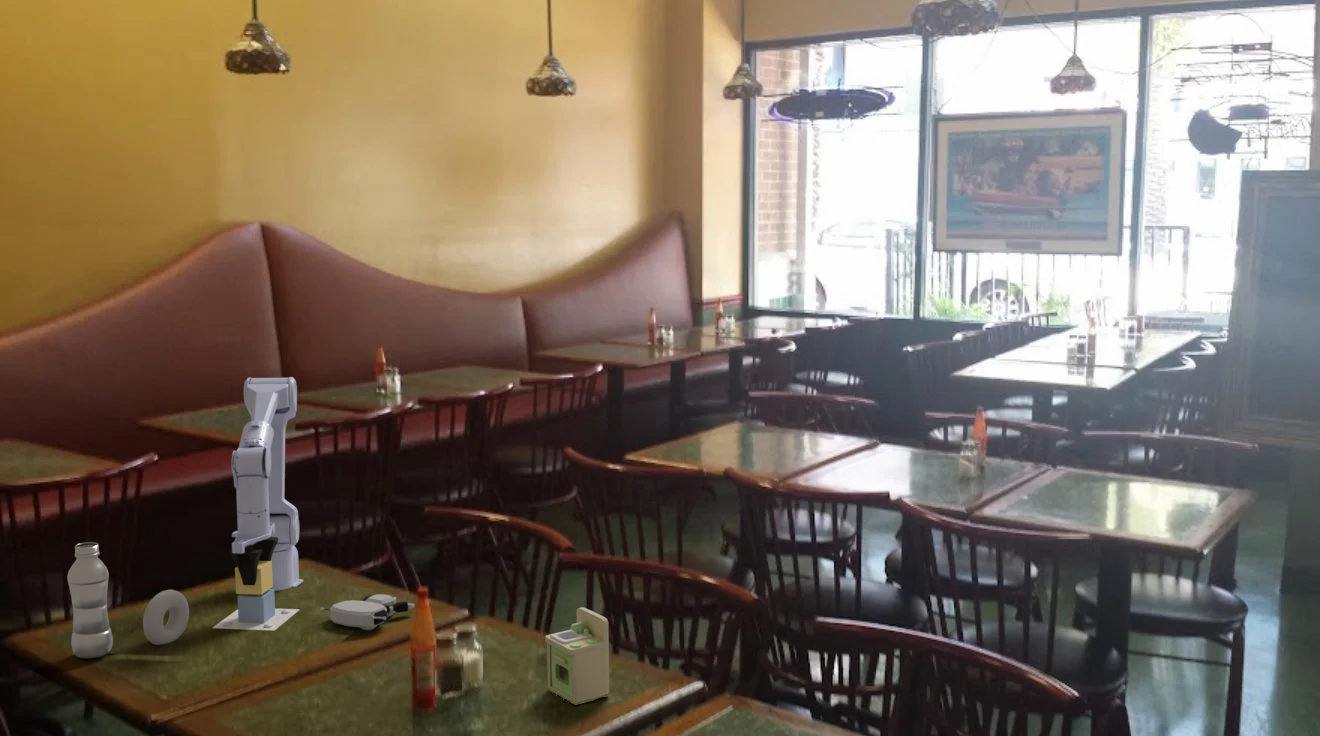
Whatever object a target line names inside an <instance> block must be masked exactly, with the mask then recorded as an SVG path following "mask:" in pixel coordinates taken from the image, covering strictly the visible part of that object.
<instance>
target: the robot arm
mask: <svg viewBox="0 0 1320 736" xmlns="http://www.w3.org/2000/svg"><path fill="white" fill-rule="evenodd" d="M243 401H244V405H245V407H246V409H247V412H248V413H249V415H250V421H249V422H247V423H246V424H244V426H243V428H242V433H241V438H240V441H239V444H238V448H237V450H233V451H232V454H231V473H232V476H233V487H234V488H235V489H236V515H237V530H235V531H233V532H232V533H231V537H232V538H235V539H234V541H233V542H232V543H231V548H230V549H229V555H230V557H231V558H232V559H233V561H234V562H235V565H236V567H238V569H239V572H240V576H241V579H242V582H243V585H255V583H256V578H257V567H258V562H259V561H272V578H273V587H271V588H270V589H274V592H276V591H277V592H278V591H284V590H287V589H289V588H290V589H291V587H297V588H298V586H299V585H300V584H302V583H303V582H304V579H301V578H300V573H299V572H300V571H299V569H300V568H299V552H298V549H297V548H296V545H297V543H298V542H299V539H300V520H299V519H300V518H299V511H298V508H297V507H296V506H295V505H293V504H292V503H290V502H289V501H288V500H287V499H285V490H286V489H285V487H286V485H285V484H286V483H285V482H286V481H285V479H286V473H285V472H286V430H287V425H288V421H289V420H291V419H294V418H295V417H296V413H297V411H298V409H297V408H298V406H297V405H298V404H297V402H298V386H297V381H296V379H295V378H294V377H293V376H289V377H247V379H246V380H245V381H244V382H243ZM271 514H272V515H271ZM273 514H277V515H273ZM278 514H286V515H278Z"/></svg>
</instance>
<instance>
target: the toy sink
mask: <svg viewBox="0 0 1320 736" xmlns="http://www.w3.org/2000/svg"><path fill="white" fill-rule="evenodd" d="M609 633H610V632H609V621H608V618H606V617H605V616H604V615H600V613H598V612H595V611H593V610H590V609H588V608H586V607H583V606H582V607H579V608H577V609H576V623H572V624H571V625H570V627H569V629H567V630H564V631H559V632H554V633H551V634H548V635H545V637H544V639H545V641H544V642H545V643H546V654H547V655H546V663H547V664H546V665H547V667H546V668H547V670H546V671H547V689H548V688H549V689H551V690H552V691H554V692H556V693H557V694H559V695H561V696H563V697H565V698H567V699H568V700H570V701H572V702H574V703H578V702H581V701H584V700H587V699H591V698H595V697H598V696H602V695H605V694H608V693H609V694H610V652H609V651H610V646H609V645H610V641H609V639H610V637H609Z"/></svg>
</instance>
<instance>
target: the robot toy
mask: <svg viewBox="0 0 1320 736" xmlns="http://www.w3.org/2000/svg"><path fill="white" fill-rule="evenodd" d="M415 607H416V605H415V604H414V603H411V602H407V601H399V602H397V597H396V596H394V597H393V596H392V595H389V594H380V593H379V594H374V595H367V596H365V597H363V599H362V600H352V599H351V600H343V601H340V602H338V603H337V602H336V603H335V604H332V605H331V607H320V608H319V609H320V611H321V610H324V611H329V619H330V620H331V621H332V622H333V623H334V624H337V625H341V626H345V627H352V628H360V629H361V630H364V631H372V630H374V629H375V628H376V627H377V626H378V625H381V624H384V623H385V622H386V621H387V620H388V618H389V616H390V617H392V615H393V614H394V613H395V612H396V613H406V612H409V609H414V608H415Z"/></svg>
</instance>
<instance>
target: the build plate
mask: <svg viewBox="0 0 1320 736" xmlns="http://www.w3.org/2000/svg"><path fill="white" fill-rule="evenodd" d="M299 611H300V609H297V608H296V609H294V608H276V607H275V615H274V616H273V617H272V618H270V619H269V620H268V621H267V622H265V623H242V622H239V620H238V608H237V609H236V610H235V611H233V612H232V613H230V614H229V615H228V616H226V617H225V618H224V619H222V620H221V621H220V622H218V623H217V624H215V625H214V626H213V627H212V629H222V630H224V629H226V630H227V629H228V630H247V631H248V630H249V631H272V632H273V631H276V630H277V629H278V628H280V627H281V626H282V625H284V624H285V623H286V622H287V621H288V620H289V619H291V618H292V617H293V616H294V615H295V614H297V613H298V612H299Z"/></svg>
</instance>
